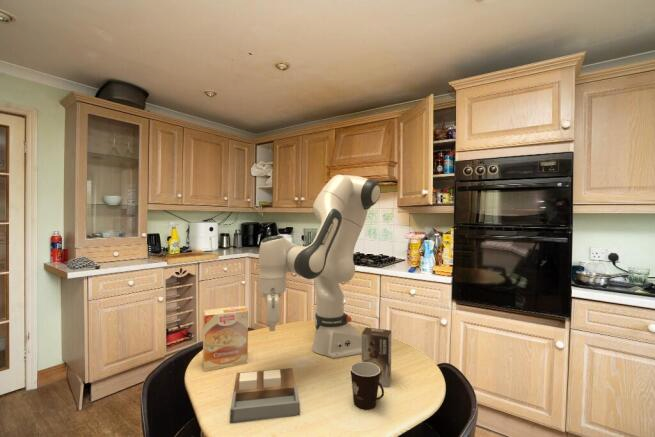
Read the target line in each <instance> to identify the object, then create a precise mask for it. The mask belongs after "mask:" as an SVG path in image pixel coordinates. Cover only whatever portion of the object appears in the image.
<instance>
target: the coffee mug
mask: <svg viewBox="0 0 655 437" xmlns="http://www.w3.org/2000/svg"><path fill="white" fill-rule="evenodd" d="M349 369H350V378H351V380H350V381H351V385H352V386H351V387H352V388H351V389H352V399H353V404H354V406H355V407H356V409H359V410H362V409H363V411H370V410H373V409H375V407H376V405H377V401H379V400H381V399H383V397H384V395H385V390H384V386H382V385H381V384H380V383H379V378H380V368H379V367H378V366H377V365H375V364H373V363H369V362H362V361H358V362H354V363H352V365H351V366H350V368H349ZM379 388H380V390H381V395H380V396H378V393H379Z"/></svg>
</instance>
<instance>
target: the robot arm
mask: <svg viewBox="0 0 655 437" xmlns="http://www.w3.org/2000/svg"><path fill="white" fill-rule="evenodd" d="M381 190H382V189H381V184H380V183H379V182H378V181H377V180H374V179H372V178H366V177H363V176H359V175H349V174H343V173H342V174H341V173H339V174H335V175H334V176H332V177H331V178H330V179H329V181H327V183H326V184H325V185H324V186H323V187H322V189H321V191H320V192H319V194H318V195H317V197H316V199H315V200H314V202H313V206H312V209H313V210H312V211H313V212H314V216H315V217H316V218H317V219H318V220H319V221H320V223H321V224H320V226H319V228H318V230H317V232H316V235H315V236H314V238H313V241H312V242H311V244H309V245H307V246H304V245H299V244H297V243H294V242H291V241H290V240H288V239H286V238H285V237H284V236H283V235H271V236H270V235H269V236H266V237H264V238H263V239H262V240H261V242H260V245H259V250H258V253H259V254H258V266H259V273H258V289H257V290H258V292H259V293H261V296H262V297H263V298H264V300H265V309H266V310H265V312H266V323H267V324H268V325H269V326H268V331H269V332H274V331H276V323H277V324H278V323H279V322H280V297H282V296H283V293H285V292H286V290H287V273H292V274H295V275H297V276H301V277H303V278H304V279H307V280H313V283H314V287H315V293H316V294H315V296H316V311H315V316H314V326H315V330H314V331H315V332H314V338H313V343H312V346H311V349H312V351H313V352H315V353H316V354H318V355H322V356H327V357H329V358H332V359H338V358H343V357H344V358H345V357H349V356H350V357H351V356H355V355H362V335H361V333H360V331H359V330H358V329H357V328H356V327H355V326H354V325H352V324H351V322H352V317H351V316H350V315H348V314H347V313H345V311H344V303H345V301H344V299H345V298H344V297H345V296H344V292H343V290H342V289H341V286H340V284H342V283H348V282H350V281H351V280H352V279H353V277H354V276H355V274H356V264H355V262H354V252H355V248H356V245H357V242H358V239H359V237H360V235H361V233H362V230H363V227H364V225H365V222H366V220H367V217H368V216H367V215H368V210H369V209H371V208H372V207H373V206H375V205H376V203H378V201H379V199H380V197H381Z"/></svg>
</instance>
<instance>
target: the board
mask: <svg viewBox="0 0 655 437" xmlns="http://www.w3.org/2000/svg"><path fill="white" fill-rule="evenodd" d="M270 370H271V369H267V370H266V369H265V370H253V371H251V372H257V388H255V389H245V390H239V379H240V373H247V372H248V371H244V372H243V371H242V372H241V371H240V372H236V375H235V380H234V385H233V386H234V387H233V392H236V401H246V400H256V399H265V398H275V397H285V396H294V386H297V384H296V379H295V374H294V370H293V367H289V368H287V367H286V368H277V369H274V370H280V375H281V386H276V387H266V388H264V371H270Z"/></svg>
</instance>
